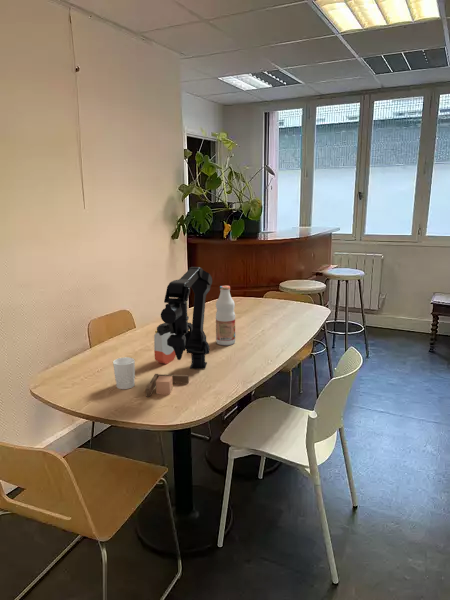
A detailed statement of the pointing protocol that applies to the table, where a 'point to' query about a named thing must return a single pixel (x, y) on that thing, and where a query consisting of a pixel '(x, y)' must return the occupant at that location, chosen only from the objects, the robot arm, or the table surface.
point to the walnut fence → (175, 378)
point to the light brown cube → (164, 385)
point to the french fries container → (163, 348)
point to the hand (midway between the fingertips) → (181, 355)
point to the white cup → (124, 372)
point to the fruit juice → (225, 318)
